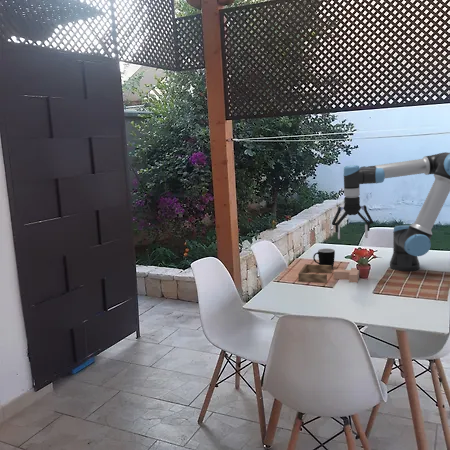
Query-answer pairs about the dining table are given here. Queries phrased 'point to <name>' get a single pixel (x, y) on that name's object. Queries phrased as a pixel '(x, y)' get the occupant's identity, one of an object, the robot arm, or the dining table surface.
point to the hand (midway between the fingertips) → (352, 238)
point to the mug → (325, 256)
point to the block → (347, 274)
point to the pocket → (314, 277)
